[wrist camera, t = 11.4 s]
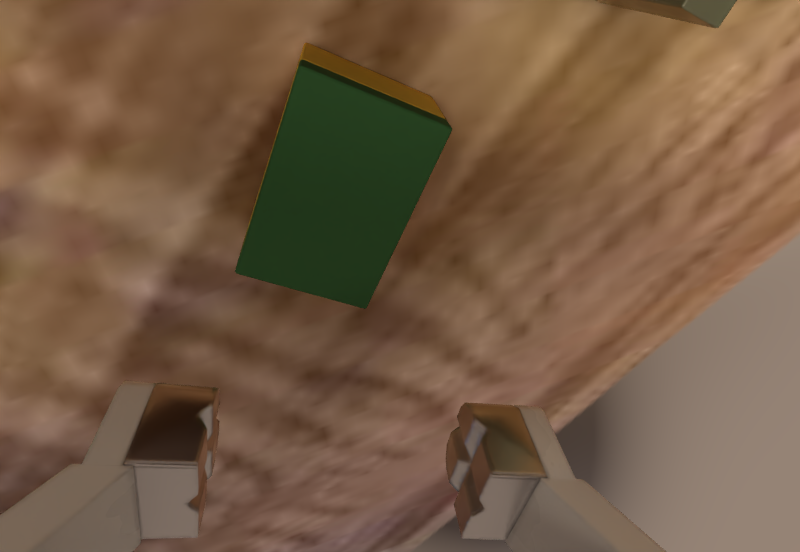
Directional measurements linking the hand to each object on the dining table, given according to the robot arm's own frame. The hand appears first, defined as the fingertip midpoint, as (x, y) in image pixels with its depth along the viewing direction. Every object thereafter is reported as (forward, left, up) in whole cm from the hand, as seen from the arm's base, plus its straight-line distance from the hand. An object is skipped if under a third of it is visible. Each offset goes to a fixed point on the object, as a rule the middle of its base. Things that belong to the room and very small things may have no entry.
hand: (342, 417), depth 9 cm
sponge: (0, 0, -13) cm, 13 cm away
